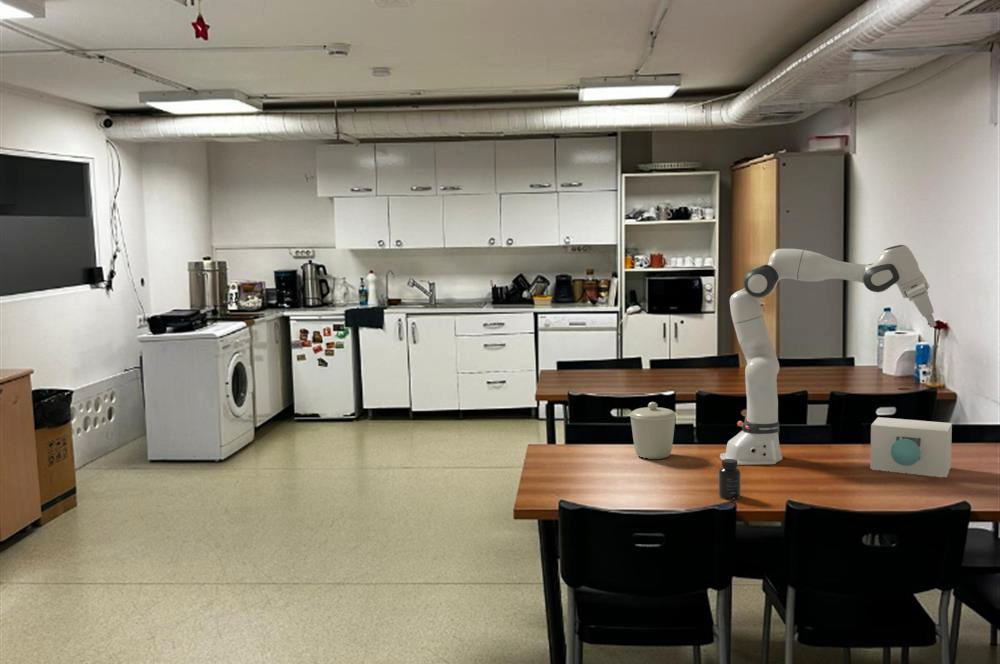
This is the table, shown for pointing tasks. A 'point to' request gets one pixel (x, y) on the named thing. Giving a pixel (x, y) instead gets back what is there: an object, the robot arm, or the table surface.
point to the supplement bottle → (729, 479)
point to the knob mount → (931, 446)
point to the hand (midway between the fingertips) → (932, 324)
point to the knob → (906, 451)
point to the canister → (653, 431)
